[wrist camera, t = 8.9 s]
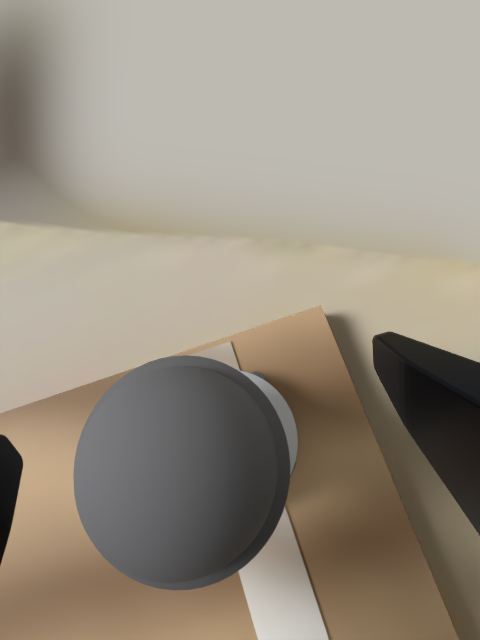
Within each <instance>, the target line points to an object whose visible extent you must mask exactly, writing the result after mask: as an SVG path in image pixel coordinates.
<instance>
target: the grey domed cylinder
mask: <svg viewBox="0 0 480 640" xmlns="http://www.w3.org/2000/svg"><path fill="white" fill-rule="evenodd" d="M297 447H298V438H297V429H296V424H295V420H294V418H293V415H292V412H291V410H290V408H289V406H288V404H287V403H286V401H285V400H284V398H283V397H282V396H281V394H280V393H279V392H278V391H277V390H276V389H275V388H274V387H273V386H272V385H271V384H269V383H268V382H266V381H265V380H263V379H262V378H260V377H258V376H256V375H254V374H251V373H248V372H244V371H239V370H237V369H235V368H233V367H231V366H229V365H227V364H225V363H222V362H219V361H217V360H214V359H210V358H205V357H200V356H188V355H185V356H171V357H166V358H161V359H158V360H155V361H151V362H148V363H146V364H144V365H142V366H140V367H138V368H135V369H134V370H132V371H131V372H129V373H128V374H126V375H124V376H123V377H122V378H121V379H119V380H118V381H117V382H116V383H114V384H113V385H112V386H111V387H110V388H109V389H108V390H107V392H106V393H105V394H104V395H103V396H102V397H101V399H100V400H99V401H98V403H97V404H96V405H95V407H94V408H93V410H92V412H91V413H90V415H89V417H88V419H87V421H86V423H85V425H84V428H83V430H82V432H81V435H80V439H79V442H78V445H77V450H76V455H75V460H74V474H73V478H74V496H75V501H76V507H77V511H78V514H79V517H80V520H81V523H82V525H83V527H84V529H85V531H86V533H87V535H88V536H89V538H90V540H91V541H92V543H93V544H94V546H95V547H96V549H97V550H98V551H99V552H100V553H101V555H102V556H103V557H104V558H105V559H106V560H107V561H108V562H109V563H110V564H111V565H112V566H114V567H115V568H116V569H117V570H118V571H120V572H121V573H123V574H124V575H126V576H127V577H129V578H131V579H133V580H135V581H137V582H140V583H142V584H144V585H148V586H151V587H155V588H159V589H166V590H191V589H197V588H202V587H206V586H209V585H212V584H215V583H218V582H220V581H222V580H224V579H226V578H228V577H230V576H232V575H233V574H235V573H236V572H237V571H239V570H240V569H242V568H243V567H244V566H246V565H247V564H248V563H249V562H250V561H251V560H252V559H253V558H254V557H255V556H256V555H257V554H258V553H259V552H260V551H261V549H262V548H263V547H264V546H265V544H266V543H267V542H268V540H269V539H270V537H271V535H272V534H273V532H274V531H275V529H276V527H277V525H278V522H279V520H280V518H281V516H282V513H283V510H284V507H285V503H286V500H287V495H288V490H289V484H290V475H291V472H292V470H293V467H294V464H295V461H296V455H297Z"/></svg>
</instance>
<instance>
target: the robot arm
mask: <svg viewBox="0 0 480 640" xmlns="http://www.w3.org/2000/svg"><path fill="white" fill-rule="evenodd" d="M372 343H373V362H374V368H375V371H376V373H377V375H378V377H379V379H380V381H381V383H382V384H383V386H384V388H385V390H386V392H387V394H388V396H389V398H390V400H391V401H392V403H393V405H394V407H395V409H396V411H397V413H398V415H399V416H400V418H401V420H402V422H403V424H404V425H405V427H406V429H407V430H408V432H409V433H410V435H411V436H412V438H413V439H414V440H415V442H416V443H417V445H418V446H419V448H420V449H421V451H422V452H423V454H424V455H425V456H426V458H427V459H428V461H429V462H430V464H431V465H432V467H433V468H434V470H435V471H436V472H437V474H438V475H439V477H440V478H441V480H442V481H443V483H444V484H445V486H446V487H447V488H448V490H449V491H450V493H451V494H452V496H453V497H454V499H455V500H456V501H457V503H458V504H459V506H460V507H461V509H462V510H463V512H464V513H465V515H466V516H467V517H468V519H469V520H470V522H471V523H472V525H473V526H474V528H475V529H476V531H477V532H478V533H479V535H480V363H479V362H476V361H473V360H470V359H468V358H465V357H462V356H459V355H456V354H453V353H450V352H448V351H445V350H442V349H439V348H436V347H433V346H431V345H428V344H425V343H422V342H419V341H416V340H414V339H411V338H408V337H405V336H402V335H399V334H397V333H394V332H385V333H382V334H378V335H375V336H374V337H373V341H372ZM22 470H23V459H22V456H21V455H20V453H19V452H18V451H17V450H16V448H15V447H14V446H13V444H12V443H11V442H10V440H9V439H8V438H7V437H6V436H5V435H3V434H0V566H1V562H2V559H3V555H4V552H5V549H6V545H7V542H8V538H9V535H10V531H11V527H12V522H13V517H14V512H15V507H16V502H17V496H18V491H19V486H20V481H21V476H22Z"/></svg>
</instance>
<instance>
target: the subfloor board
mask: <svg viewBox="0 0 480 640" xmlns="http://www.w3.org/2000/svg"><path fill="white" fill-rule="evenodd" d="M185 355H188V356H200V357H205V358H210V359H214V360H217V361H219V362H222V363H225V364H227V365H229V366H231V367H233V368H235V369H237V370H239V371H244V372H248V373H251V374H254V375H256V376H258V377H260V378H262V379H263V380H265V381H266V382H268V383H269V384H271V385H272V386H273V387H274V388H275V389H276V390H277V391H278V392H279V393H280V394H281V396H282V397H283V398H284V400H285V401H286V403H287V404H288V406H289V408H290V410H291V412H292V415H293V418H294V420H295V424H296V429H297V438H298V447H297V455H296V461H295V464H294V467H293V470H292V472H291V475H290V484H289V490H288V495H287V500H286V503H285V507H284V510H283V513H282V516H281V518H280V520H279V522H278V525H277V527H276V529H275V531H274V532H273V534H272V535H271V537H270V539H269V540H268V542H267V543H266V544H265V546H264V547H263V548H262V549H261V551H260V552H259V553H258V554H257V555H256V556H255V557H254V558H253V559H252V560H251V561H250V562H249V563H248V564H247V565H246V566H244V567H243V568H242V569H240V570H239V571H237V572H236V573H235V574H233V575H232V576H230V577H228V578H226V579H224V580H222V581H220V582H218V583H215V584H212V585H209V586H206V587H202V588H197V589H191V590H166V589H159V588H155V587H151V586H148V585H144V584H142V583H140V582H137V581H135V580H133V579H131V578H129V577H127V576H126V575H124V574H123V573H121V572H120V571H118V570H117V569H116V568H115V567H114V566H112V565H111V564H110V563H109V562H108V561H107V560H106V559H105V558H104V557H103V556H102V555H101V553H100V552H99V551H98V550H97V549H96V547H95V546H94V544H93V543H92V541H91V540H90V538H89V536H88V535H87V533H86V531H85V529H84V527H83V525H82V523H81V520H80V517H79V514H78V511H77V507H76V501H75V496H74V478H73V474H74V460H75V455H76V450H77V445H78V442H79V439H80V435H81V432H82V430H83V428H84V425H85V423H86V421H87V419H88V417H89V415H90V413H91V412H92V410H93V408H94V407H95V405H96V404H97V403H98V401H99V400H100V399H101V397H102V396H103V395H104V394H105V393H106V392H107V390H108V389H109V388H110V387H111V386H112V385H113V384H114V383H116V382H117V381H118V380H119V379H121V378H122V377H123V376H124V375H126V374H128V373H129V372H131V371H132V370H134V369H135V368H134V369H131V370H128V371H125V372H122V373H119V374H116V375H113V376H110V377H107V378H104V379H101V380H98V381H96V382H93V383H90V384H87V385H84V386H81V387H78V388H75V389H72V390H69V391H66V392H63V393H60V394H57V395H54V396H51V397H48V398H45V399H42V400H39V401H36V402H33V403H30V404H27V405H25V406H22V407H19V408H16V409H13V410H10V411H7V412H4V413H1V414H0V434H3V435H5V436H6V437H7V438H8V439H9V440H10V442H11V443H12V444H13V446H14V447H15V448H16V450H17V451H18V452H19V453H20V455H21V456H22V459H23V470H22V476H21V481H20V486H19V491H18V496H17V502H16V507H15V512H14V517H13V522H12V527H11V531H10V535H9V538H8V542H7V545H6V549H5V552H4V555H3V559H2V562H1V566H0V640H459V638H458V636H457V633H456V631H455V629H454V626H453V624H452V621H451V619H450V616H449V614H448V612H447V609H446V607H445V604H444V602H443V600H442V597H441V595H440V592H439V590H438V587H437V585H436V583H435V580H434V578H433V575H432V573H431V571H430V568H429V566H428V563H427V561H426V558H425V556H424V554H423V551H422V549H421V546H420V544H419V542H418V539H417V537H416V534H415V532H414V529H413V527H412V525H411V522H410V520H409V517H408V515H407V513H406V510H405V508H404V505H403V503H402V500H401V498H400V496H399V493H398V491H397V488H396V486H395V484H394V481H393V479H392V476H391V474H390V471H389V469H388V467H387V464H386V462H385V459H384V457H383V455H382V452H381V450H380V447H379V445H378V442H377V440H376V438H375V435H374V433H373V430H372V428H371V425H370V423H369V421H368V418H367V416H366V413H365V411H364V409H363V406H362V404H361V401H360V399H359V396H358V394H357V392H356V389H355V387H354V384H353V382H352V380H351V377H350V375H349V372H348V370H347V367H346V365H345V363H344V360H343V358H342V355H341V353H340V351H339V348H338V346H337V343H336V341H335V338H334V336H333V334H332V331H331V329H330V326H329V324H328V322H327V319H326V317H325V314H324V312H323V309H322V307H321V305H320V306H318V307H315V308H312V309H309V310H306V311H303V312H300V313H297V314H294V315H291V316H288V317H285V318H282V319H279V320H276V321H273V322H270V323H267V324H264V325H261V326H258V327H255V328H252V329H249V330H246V331H244V332H241V333H238V334H235V335H232V336H229V337H226V338H223V339H220V340H217V341H214V342H211V343H208V344H205V345H202V346H199V347H196V348H193V349H190V350H187V351H184V352H181V353H178V354H175V355H172V356H185ZM170 357H171V356H170ZM137 368H138V367H137Z"/></svg>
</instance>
